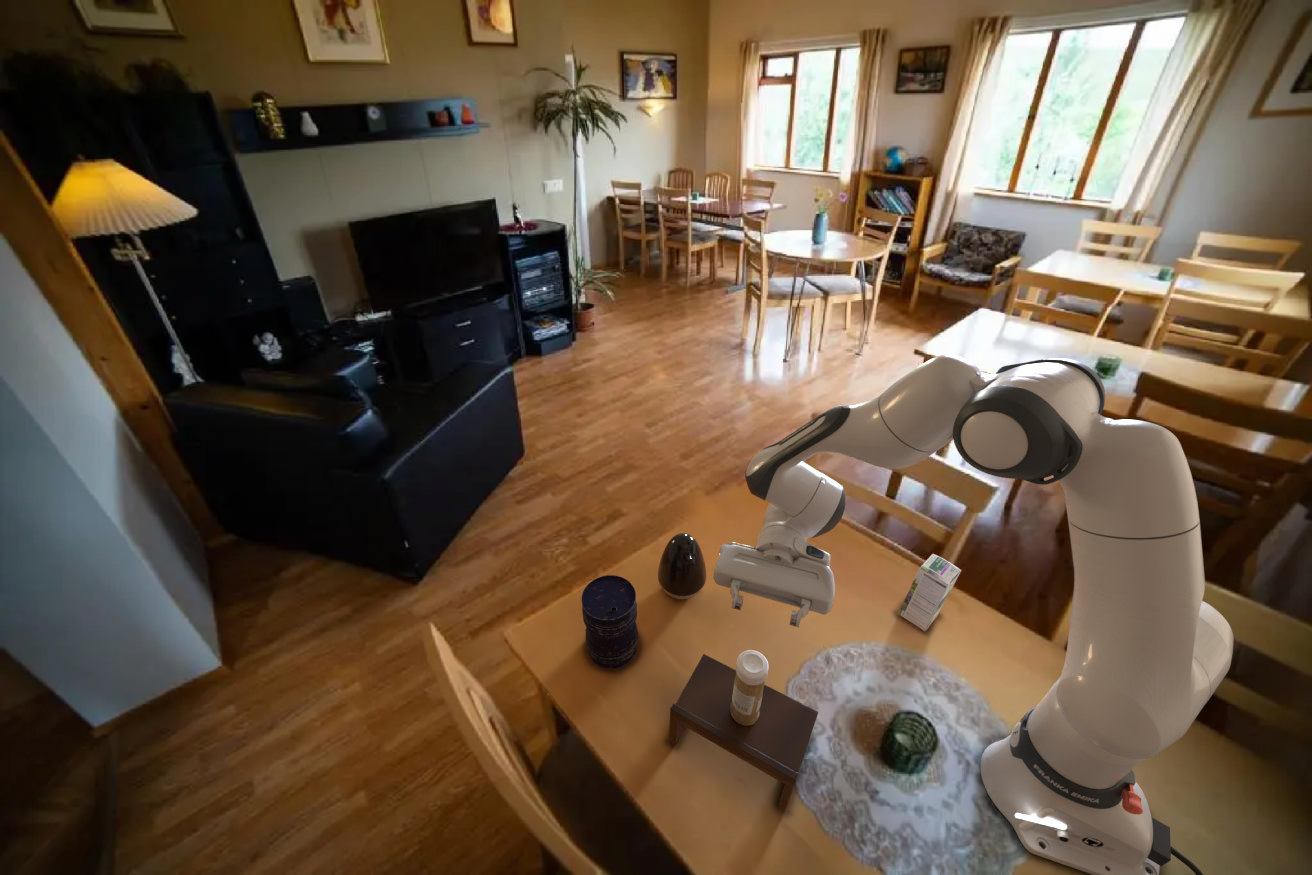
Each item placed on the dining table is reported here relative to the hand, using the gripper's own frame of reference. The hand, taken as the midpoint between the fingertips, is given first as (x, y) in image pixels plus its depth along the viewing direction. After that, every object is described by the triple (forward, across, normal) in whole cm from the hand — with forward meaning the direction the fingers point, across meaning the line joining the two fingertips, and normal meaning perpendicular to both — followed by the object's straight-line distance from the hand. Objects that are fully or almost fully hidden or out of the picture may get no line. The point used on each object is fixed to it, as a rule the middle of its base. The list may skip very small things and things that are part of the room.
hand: (765, 615), depth 86 cm
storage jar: (+2, -27, +19) cm, 33 cm away
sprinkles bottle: (+11, 0, +10) cm, 15 cm away
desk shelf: (+11, 0, +19) cm, 22 cm away
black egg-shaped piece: (-16, -19, +19) cm, 31 cm away
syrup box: (-26, +29, +19) cm, 43 cm away
